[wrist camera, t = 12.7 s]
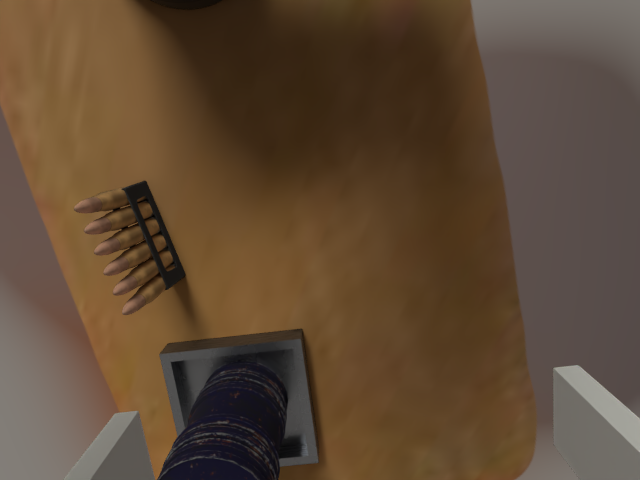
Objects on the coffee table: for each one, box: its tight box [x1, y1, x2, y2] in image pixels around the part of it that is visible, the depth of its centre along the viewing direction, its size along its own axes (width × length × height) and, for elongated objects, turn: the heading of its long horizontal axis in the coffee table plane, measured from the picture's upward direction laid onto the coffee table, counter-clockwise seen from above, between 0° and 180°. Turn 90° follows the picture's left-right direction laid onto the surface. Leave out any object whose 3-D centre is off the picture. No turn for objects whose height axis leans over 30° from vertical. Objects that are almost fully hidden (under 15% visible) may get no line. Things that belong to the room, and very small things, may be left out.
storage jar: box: [157, 361, 288, 480], centre depth 41 cm, size 10×10×15 cm
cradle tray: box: [159, 329, 319, 467], centre depth 48 cm, size 15×15×2 cm
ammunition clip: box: [74, 181, 185, 315], centre depth 39 cm, size 11×2×12 cm, turn 19°
